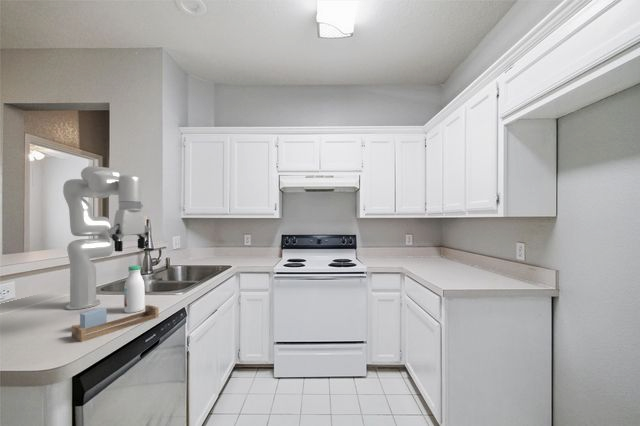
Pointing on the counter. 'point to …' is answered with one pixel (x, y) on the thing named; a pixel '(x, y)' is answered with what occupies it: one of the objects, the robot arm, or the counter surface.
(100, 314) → the pale blue upright box
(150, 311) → the bottom track
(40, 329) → the counter surface
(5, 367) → the counter surface
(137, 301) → the milk bottle
